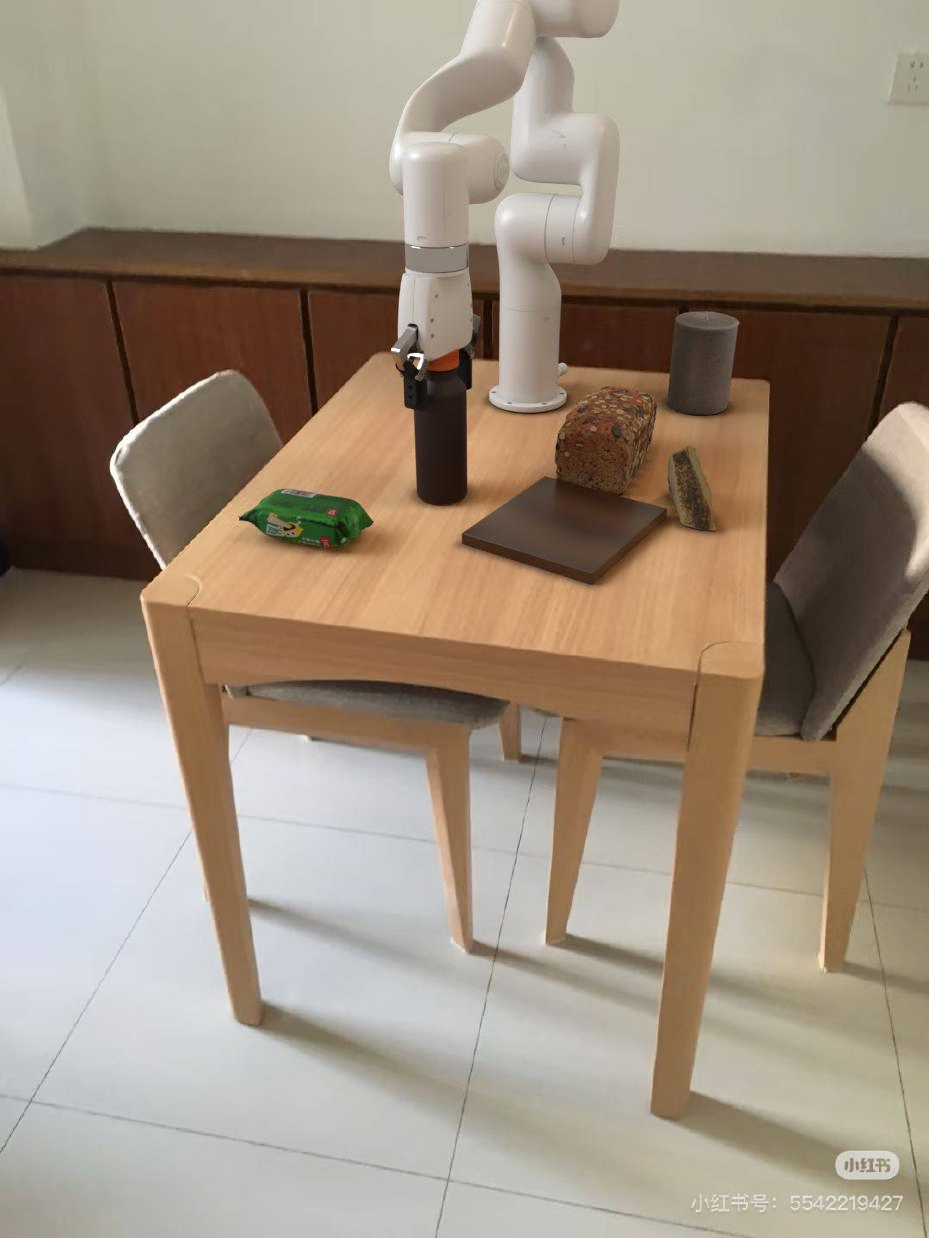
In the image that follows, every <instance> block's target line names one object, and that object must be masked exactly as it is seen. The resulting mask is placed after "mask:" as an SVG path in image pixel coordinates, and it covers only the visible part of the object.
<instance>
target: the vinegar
mask: <svg viewBox="0 0 929 1238" xmlns="http://www.w3.org/2000/svg"><path fill="white" fill-rule="evenodd" d="M418 353H422V354H424V352H422V351H419V352H418ZM419 362H420V361H419ZM419 362H418V363H419ZM458 365H459V349H456V350H453V351H451V352H449V353H448V354H446V355H445V356H443V357H441V358H438V359H436V360H433V361H430V362H429V365H428V367H427V370H426V372H425V375H424V377H423V379H427V396H428V409H427V410H426V411H424V412H421V411H417V410H413V429H414V454H415V455H414V457H415V482H416V484H415V486H416V494H417V497H418V498H419V500H421V501H423V502H425V503H427V504H431V505H434V506H435V505H438V506H439V505H440V506H444V505H446V506H447V505H452V504H455V503H459V502H461V501H462V500H464V499H465V498H466V496H467V494H468V404H467V403H468V393H467V391H468V390H467V388H466V385H465V384H464V382H463V381H462V380H461V379H460V378H459V377H458V376H457V375H456V371H457V370H458V368H459V367H458Z"/></svg>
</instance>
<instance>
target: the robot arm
mask: <svg viewBox="0 0 929 1238" xmlns="http://www.w3.org/2000/svg"><path fill="white" fill-rule="evenodd" d="M620 3H621V0H476V3H475V6H474V8H473V11H472V15H471V18H470V21H469V24H468V26H467V30H466V33H465V36H464V38H463V42H462V46H461V49H460V52H459V54H458V55H456V56H455V57H454V58H452V59H451V60H449V61H448V62H446V63H445V64H444V65H442V66H441V67H440V68H438V70H436V71H434V73H433V74H432V75H431V76H429V77H428V78H427V79H426V80H425V81H424V82H423V83H421V85H419V87H417V88H416V90H415V91H414V92H413V93H412V94H411V95H410V97H409V98H408V100H407V101H406V103H405V106H404V108H403V110H402V113H401V115H400V118H399V121H398V124H397V128H396V130H395V133H394V137H393V141H392V143H391V147H390V153H389V161H388V171H389V177H390V181H391V184H392V186H393V188H394V189H395V191H397V193H399V194H400V195H401V196H402V198H403V200H402V201H403V202H402V203H403V233H404V234H403V235H404V264H405V266H404V268H405V269H404V271H405V272H404V273H402V277H401V281H400V287H399V288H400V289H399V296H398V297H399V298H398V312H397V313H398V314H397V341H396V342H395V343H394V344H393V346H392V347H391V349H390V353H391V356H392V359H393V361H394V363H395V365H394V366H395V369H396V370H397V371H398V372H399V376H400V378H402V381H403V406H404V407H405V408H406V409H408V410H409V409H410V410H413V411H414V410H417V411H421V412H424V411H426V410H427V409H428V396H427V379H423V377H424V375H425V372H426V370H427V367H428V365H429V362H430V361H433V360H436V359H438V358H441V357H443V356H445V355H446V354H448V353H449V352H451V351H453V350H456V349H459V365H458V367H459V368H458V370H457V371H456V375H457V376H458V377H459V378H460V379H461V380H462V381H463V382H464V384H465V385H466V388H467V391H469V390H471V389H472V388H473V358H474V357H475V354H476V352H475V351H476V350H475V346H476V345H477V342H478V339H479V335H478V334H479V330H480V325H481V322H482V318H481V316H479V315H477V314H475V313H474V312H473V310H474V309H473V295H472V285H471V284H472V283H471V277H470V271H469V270H470V268H469V266H470V264H469V263H470V245H469V244H470V242H469V241H470V240H469V236H470V235H469V234H470V233H469V231H470V230H469V229H470V228H469V227H470V226H469V223H470V222H469V221H470V220H469V218H470V217H469V216H470V213H469V211H470V210H469V207H470V205H482V204H487V203H489V202H492V201H493V200H495V199H496V198H497V197H499V195H501V194H502V193H503V191H504V189H505V187H506V185H507V184H508V180H509V177H510V169H511V171H512V173H513V175H514V176H515V177H516V178H518V179H520V180H522V181H525V182H530V183H538V184H554V185H568V186H569V185H570V186H579V187H580V189H581V191H582V195H578V194H577V195H575V194H559V193H548V192H535V191H534V192H532V191H531V192H530V191H529V192H528V191H527V192H517V193H513V194H510V195H508V196H506V197H505V198H503V199H502V200H501V202H500V203H498V206H497V207H496V210H495V213H494V219H493V230H494V238H495V245H496V251H497V259H498V260H497V261H498V269H499V271H498V272H499V328H498V329H499V338H498V339H499V341H498V344H499V345H498V347H499V348H498V349H499V350H498V384H497V385H495V386H493V387H492V388H491V389H490V390H489V391H488V392H489V393H488V399H489V402H490V403H491V404H492V405H493V406H494V407H496V408H499V409H501V410H504V411H509V412H514V413H523V414H524V413H526V414H529V413H530V414H532V413H544V412H548V411H549V412H550V411H552V410H556V409H559V408H560V407H562V406H563V405H564V404H565V403H566V402H567V396H568V395H567V391H566V390H565V389H564V388H563V387H562V386H560V385H559V380H560V378H561V377H562V376H564V375H566V374H567V373H568V372H569V367H568V365H567V364H566V363H564V362H560V363H559V360H560V336H561V335H560V333H561V314H562V313H561V312H562V288H561V285H560V282H559V279H558V277H557V276H556V274H555V272H554V270H553V269H552V267H551V265H550V264H561V265H562V264H564V265H576V266H578V265H579V266H594V265H598V264H600V263H601V262H602V261H603V260H604V259H606V257H607V254H608V252H609V249H610V246H611V242H612V235H613V226H614V218H615V217H614V216H615V208H616V197H617V189H618V188H617V187H618V178H619V171H620V170H619V169H620V156H621V139H620V132H619V128H618V126H617V124H616V121H614V119H613V118H612V117H611V116H609V115H607V114H603V113H599V112H580V111H574V110H573V101H574V89H575V88H574V87H575V70H574V67H573V65H572V62H571V60H570V58H569V56H568V54H567V53H566V50H564V48H563V46H562V45H561V43H560V42H559V41H558V39H557V38H580V39H594V38H595V39H599V38H603V37H604V36H606V35H607V34H608V33H609V32H610V31H611V30H612V28H613V26H614V24H615V23H616V20H617V17H618V14H619V9H620ZM511 98H513V100H512V101H513V102H512V117H511V129H510V144H509V145H510V147H509V154H508V152H507V149H506V147H505V146H504V145H503V143H501V141H499V139H496V138H495V137H493V136H490V135H486V134H479V133H478V134H477V133H458V132H446V131H445V132H443V130H444V129H445V128H447V127H448V126H450V125H451V124H453V123H455V122H457V121H459V120H462V119H463V118H465V117H469V116H472V115H474V114H477V113H480V112H483V111H486V110H488V109H490V108H492V107H495V106H498V105H500V104H502V103H504V102H506V101H508V100H510V99H511ZM419 351H422V352H424V354H422V353H419ZM415 361H417V362H418V361H420V362H418V365H417V366H416V365H415V364H414V363H415Z"/></svg>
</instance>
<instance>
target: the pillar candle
mask: <svg viewBox="0 0 929 1238" xmlns="http://www.w3.org/2000/svg"><path fill="white" fill-rule="evenodd" d="M674 320H675V321H674V327H673V328H674V330H673V336H672V337H673V338H672V347H671V358H670V364H669V365H670V366H669V376H668V377H669V378H668V386H667V387H668V388H667V389H668V391H667V400H666V405H667V406H668V407H669V408H671V409H672V410H673V411H676V412H678V413H681V414H687V415H694V416H708V415H715V414H719V413H722V412H725V410H726V409H727V408H728V405H729V395H730V389H731V384H732V383H731V382H732V376H733V367H734V361H735V360H734V359H735V351H736V343H737V337H738V330H739V329H738V328H739V325H740V321H739V320H738V319H737V318H735V317H734V316H731V315H728V314H724V313H720V312H715V311H708V310H705V311H690V312H689V311H688V312H683V313H681V314H678V315H677V316H675V319H674Z"/></svg>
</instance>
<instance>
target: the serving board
mask: <svg viewBox="0 0 929 1238" xmlns="http://www.w3.org/2000/svg"><path fill="white" fill-rule="evenodd" d="M667 511H668V508H667V507H663V506H659V505H656V504H652V503H648V502H644V501H641V500H637V499H633V498H630V497H626V496H622V495H619V494H617V495H615V494H611V493H607V492H603V491H599V490H596V489H592V488H588V487H584V486H581V485H577V484H573V483H569V482H565V481H562V480H558V479H557V478H554V477H550V476H546V475H545V476H543V477H541V478H540V479H538V480H537V481H536V482H534V483H533V484H531V485H529V486H528V487H527V488H525V489H524V490H523V491H521V492H519V493H518V494H517V495H515V496H513V498H511V499H509V500H508V501H506V502H505V503H504V504H502V505H501V506H499V507H497V508H496V509H495V510H493V511H491V513H489V514H487V515H486V516H485V517H483V518H482V519H480V520H479V521H478V522H476V523H475V524H473V525H472V526H470V527H469V528H467V529H466V530H464V531H463V532H462V533H461V544H462V545H465V546H468V547H471V548H474V549H476V550H477V549H478V550H481V551H483V552H487V553H490V554H494V555H496V556H500V557H503V558H507V559H510V560H513V561H515V562H519V563H522V564H525V565H527V566H528V565H529V566H531V567H535V568H537V569H540V570H544V571H548V572H551V573H554V574H557V575H561V576H562V577H563V576H564V577H567V578H569V579H573V580H576V581H578V582H582V583H584V584H589V585H593V584H595V582H597V581H598V580H599V579H600V578H601V577H602V576H604V575H605V574H606V573H607V572H608V571H609V570H610V569H611V568H613V566H614V565H616V564H617V563H618V562H619V561H621V560H622V559H623V558H624V557H625V556H626V555H627V554H628V553H630V552H631V551H632V550H633V549H634V548H635V547H636V546H638V544H640V543H641V542H642V541H643V540H644V539H645V538H646V537H647V536H648V535H649V534H651V533H652V532H653V530H655V529H656V528H658V526H659V525H661V524H662V523H663V522H664V521H665V520H667V515H668V512H667Z"/></svg>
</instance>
